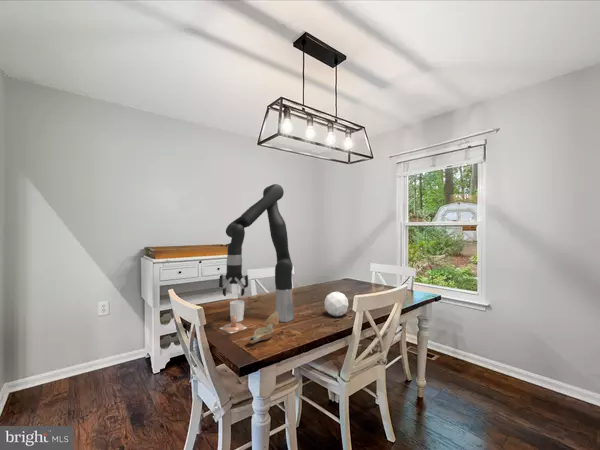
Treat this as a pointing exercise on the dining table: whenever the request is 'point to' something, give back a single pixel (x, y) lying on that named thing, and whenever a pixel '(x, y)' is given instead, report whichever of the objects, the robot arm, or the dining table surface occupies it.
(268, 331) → the oil lamp
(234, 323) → the lid
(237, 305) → the white cup
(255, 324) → the dining table surface
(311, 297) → the dining table surface
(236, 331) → the mat
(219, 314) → the dining table surface
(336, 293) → the geodesic sphere
